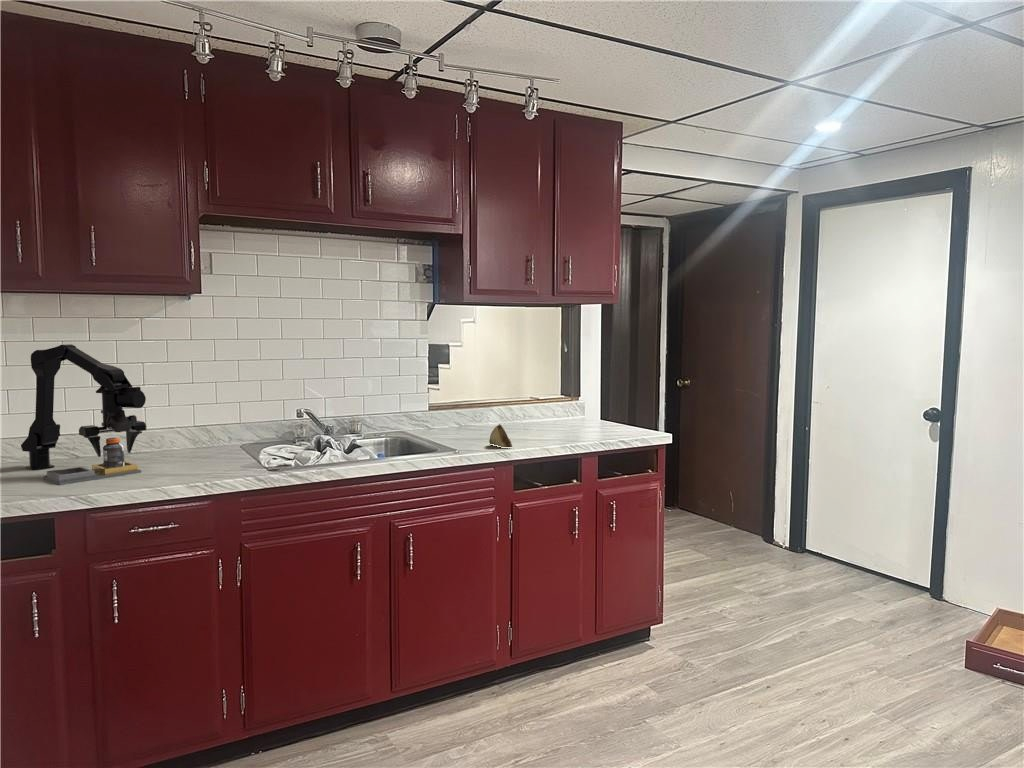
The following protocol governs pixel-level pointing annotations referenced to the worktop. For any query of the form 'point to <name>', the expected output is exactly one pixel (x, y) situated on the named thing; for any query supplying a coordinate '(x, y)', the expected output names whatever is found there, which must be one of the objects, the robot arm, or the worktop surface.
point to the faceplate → (89, 473)
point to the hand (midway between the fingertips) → (114, 454)
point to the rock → (500, 437)
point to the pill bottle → (113, 453)
